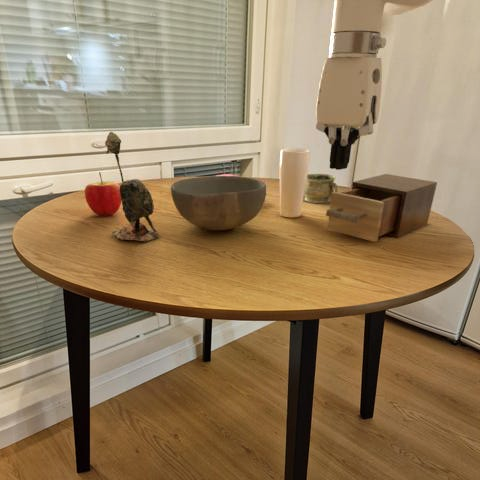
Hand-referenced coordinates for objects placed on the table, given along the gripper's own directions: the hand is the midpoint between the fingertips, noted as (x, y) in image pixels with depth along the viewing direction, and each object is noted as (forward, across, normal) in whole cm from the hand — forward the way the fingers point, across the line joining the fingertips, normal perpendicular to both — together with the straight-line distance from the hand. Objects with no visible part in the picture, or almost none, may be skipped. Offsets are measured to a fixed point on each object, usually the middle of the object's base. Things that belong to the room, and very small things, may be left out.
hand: (338, 168), depth 76 cm
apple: (+15, +50, +20) cm, 56 cm away
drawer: (+14, 0, -12) cm, 18 cm away
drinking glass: (+15, +20, -12) cm, 28 cm away
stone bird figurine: (+15, +30, +24) cm, 42 cm away
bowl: (+15, +24, +8) cm, 29 cm away
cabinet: (+15, 0, -24) cm, 28 cm away
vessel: (+15, +25, -30) cm, 42 cm away
